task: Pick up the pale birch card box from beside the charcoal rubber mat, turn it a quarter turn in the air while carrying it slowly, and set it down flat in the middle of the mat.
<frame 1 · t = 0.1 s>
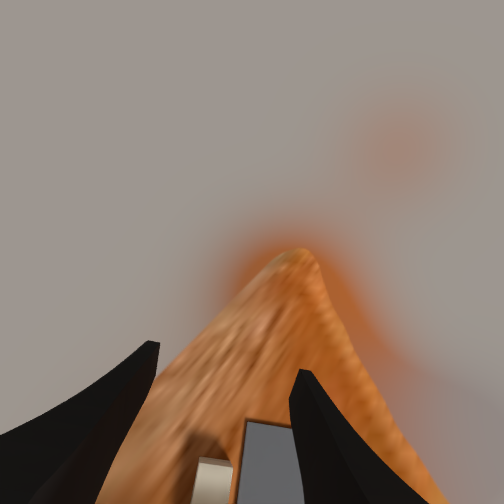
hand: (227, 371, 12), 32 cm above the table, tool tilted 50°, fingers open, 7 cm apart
birch card box: (208, 496, 33), on the table
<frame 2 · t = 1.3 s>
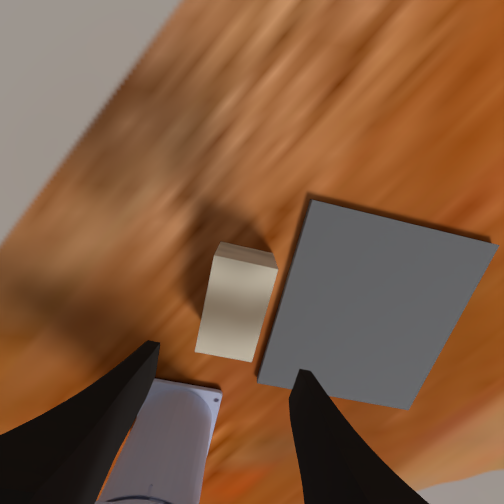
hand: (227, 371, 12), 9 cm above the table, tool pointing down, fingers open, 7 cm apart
charcoal rubber mat: (364, 316, 22), on the table
birch card box: (236, 288, 21), on the table
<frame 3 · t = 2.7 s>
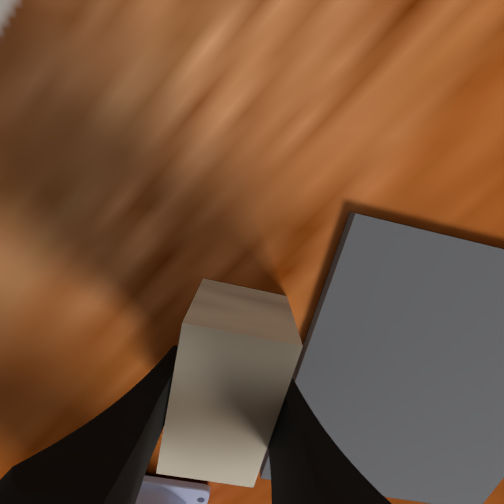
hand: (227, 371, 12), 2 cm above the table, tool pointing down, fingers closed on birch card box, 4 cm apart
charcoal rubber mat: (423, 386, 14), on the table
birch card box: (229, 349, 14), on the table, touching gripper
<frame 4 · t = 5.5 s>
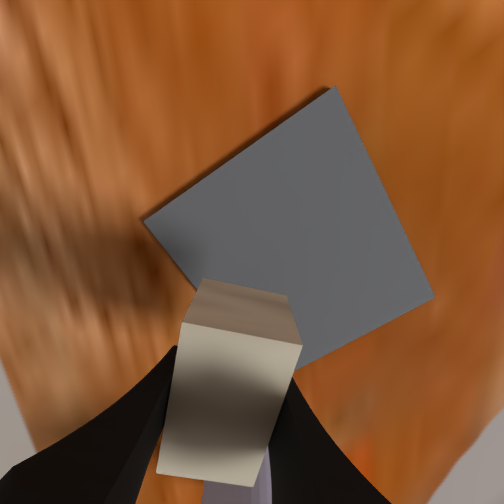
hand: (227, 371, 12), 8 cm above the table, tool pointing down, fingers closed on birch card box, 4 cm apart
charcoal rubber mat: (295, 259, 19), on the table
birch card box: (229, 349, 14), point 7 cm above the table, touching gripper
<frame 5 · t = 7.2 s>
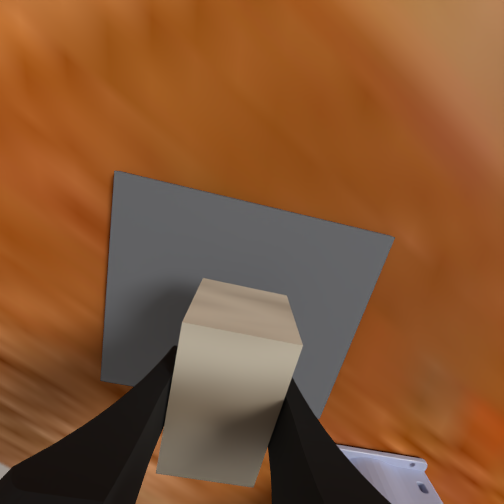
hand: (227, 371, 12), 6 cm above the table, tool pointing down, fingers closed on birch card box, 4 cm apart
charcoal rubber mat: (234, 311, 18), on the table
birch card box: (229, 349, 14), point 4 cm above the table, touching gripper
when the fingers open (3 cm above the table, at t = 8.5 s): birch card box drops 1 cm, resting on charcoal rubber mat.
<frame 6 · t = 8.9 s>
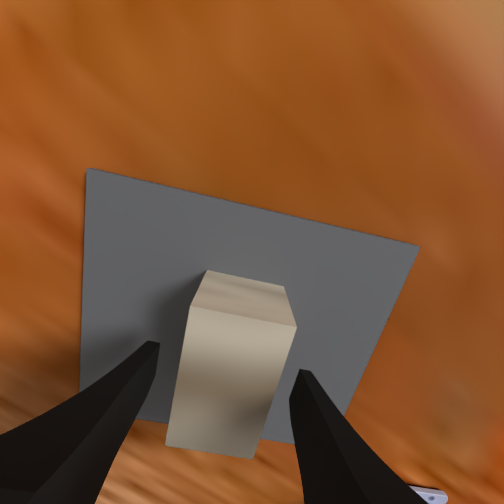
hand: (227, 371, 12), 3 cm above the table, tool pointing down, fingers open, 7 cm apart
charcoal rubber mat: (232, 330, 15), on the table
birch card box: (231, 336, 15), point 1 cm above the table, touching charcoal rubber mat
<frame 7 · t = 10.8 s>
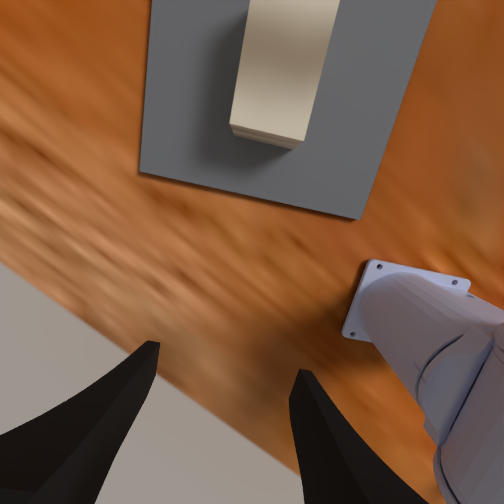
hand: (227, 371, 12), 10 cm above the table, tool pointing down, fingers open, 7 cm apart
charcoal rubber mat: (276, 85, 17), on the table
birch card box: (276, 82, 17), point 1 cm above the table, touching charcoal rubber mat
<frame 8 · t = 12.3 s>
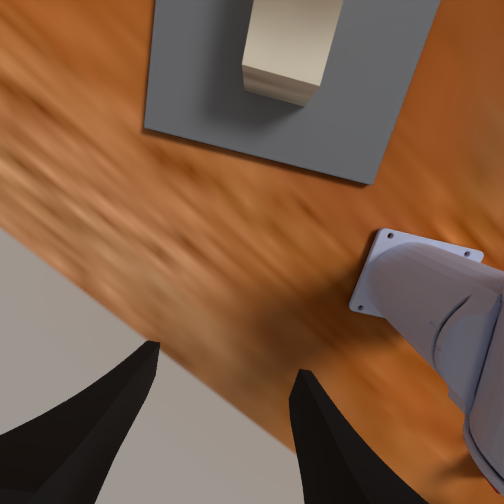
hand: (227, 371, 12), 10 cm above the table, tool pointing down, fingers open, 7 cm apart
charcoal rubber mat: (289, 37, 17), on the table
birch card box: (290, 32, 16), point 1 cm above the table, touching charcoal rubber mat
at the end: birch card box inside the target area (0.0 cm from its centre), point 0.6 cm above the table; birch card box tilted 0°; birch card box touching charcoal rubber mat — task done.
